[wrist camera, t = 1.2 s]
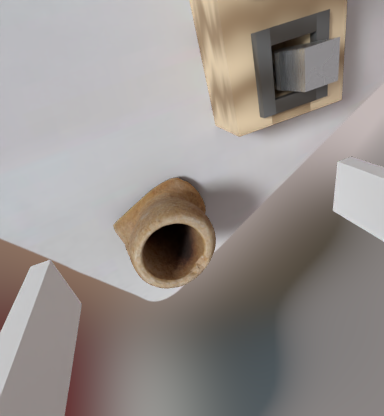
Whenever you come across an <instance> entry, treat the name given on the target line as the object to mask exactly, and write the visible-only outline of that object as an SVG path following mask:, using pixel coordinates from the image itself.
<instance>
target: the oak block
mask: <svg viewBox="0 0 384 416" xmlns="http://www.w3.org/2000/svg"><path fill="white" fill-rule="evenodd" d="M190 5H191V10H192V14H193V19H194V24H195V29H196V33H197V38H198V43H199V48H200V53H201V57H202V62H203V67H204V72H205V76H206V81H207V86H208V91H209V96H210V100H211V105H212V110H213V115H214V119H215V124H216V126H217V127H219V128H222V129H224V130H226V131H228V132H230V133H232V134H234V135H237V136H239V137H240V136H243V135H246V134H249V133H251V132H254V131H257V130H260V129H263V128H265V127H268V126H271V125H274V124H276V123H279V122H282V121H285V120H288V119H290V118H293V117H296V116H299V115H301V114H304V113H307V112H310V111H313V110H315V109H318V108H321V107H324V106H326V105H329V104H332V103H335V102H338V101H340V100H342V84H343V66H344V49H345V31H346V13H347V0H190ZM336 37H340V52H339V73H338V81H336V82H333V83H330V84H327V85H324V86H321V87H318V88H315V89H313V90H310V91H307V92H297V91H283V90H274V78H273V66H272V53H271V51H274V50H277V49H280V48H284V47H289V46H294V45H299V44H305V43H310V42H315V41H320V40H326V39H331V38H336Z"/></svg>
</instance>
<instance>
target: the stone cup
mask: <svg viewBox="0 0 384 416" xmlns="http://www.w3.org/2000/svg"><path fill="white" fill-rule="evenodd" d="M205 211H206V209H205V204H204V201H203V199H202V197H201V196H200V194H199V192H198V191H197V190H196V189H195V188H194V187H193V186H192V185H191V184H190V183H189V182H187V181H183V180H181V179H180V178H171V179H169V180H167V181H165V182H163V183H161V184H159V185H158V186H156V187H155V188H153V189H152V190H151V191H150V192H148V193H147V194H146V195H145V196H144V197H143V198H142V199H140V200H139V201H138V202H137V203H136V204H135V205H134V206H133V207H132V208H131V209H129V210H128V211H127V212H126V213H125V214H124V215H123V216H122V217H121V218H120V219H119V220H118V221H117V222H116V223H115V224H114V225H113V226H114V229H115V231H116V233H117V234H118V235H119V237H120V238H121V240H122V241H123V242H124V243H125V245H126V250H127V251H128V255H129V256H130V259H131V262H132V264H133V266H134V268H135V270H136V272H137V273H138V275H139V276H140V277H141V278H142V279H143V280H144V281H145V282H147V283H148V284H150V285H153V286H156V287H159V288H174V287H180V286H183V285H186V284H187V283H189V282H191V281H192V280H194V279H195V278H196V277H197V276H198V275H199V274H200V273H201V272H202V271H203V270H204V269H205V268H206V266H207V265H208V264H209V262H210V260H211V258H212V255H213V253H214V250H215V244H216V237H215V232H214V228H213V226H212V224H211V222H210V220H209V218H208V217H207V216H206V215H205Z"/></svg>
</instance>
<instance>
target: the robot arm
mask: <svg viewBox="0 0 384 416" xmlns="http://www.w3.org/2000/svg"><path fill="white" fill-rule="evenodd" d="M333 211H334V212H336V213H338V214H339V215H341V216H342V217H344V218H346V219H347V220H349V221H351V222H352V223H354V224H356V225H357V226H359V227H361V228H363V229H364V230H366V231H367V232H369V233H371V234H372V235H374V236H376V237H377V238H379V239H381V240H382V241H384V167H382V166H379V165H376V164H373V163H370V162H367V161H364V160H361V159H358V158H355V157H349V158H346V159H343V160H340V161H338V162H337V172H336V184H335V194H334V204H333ZM81 305H82V303H81V302H80V301H79V299H78V298H77V296H76V295H75V294H74V292H73V291H72V289H71V288H70V287H69V285H68V284H67V282H66V281H65V279H64V278H63V277H62V275H61V274H60V272H59V271H58V270H57V269H56V267H55V266H54V264H53V263H52V261H51V260H48V261H46V262H43V263H40V264H37V265H34V266H31V267H30V269H29V271H28V274H27V276H26V278H25V280H24V282H23V285H22V287H21V289H20V291H19V293H18V295H17V298H16V300H15V302H14V304H13V306H12V309H11V311H10V313H9V315H8V317H7V319H6V322H5V324H4V326H3V328H2V330H1V332H0V416H64V415H65V408H66V402H67V395H68V389H69V383H70V376H71V369H72V363H73V357H74V350H75V344H76V338H77V331H78V325H79V318H80V312H81Z"/></svg>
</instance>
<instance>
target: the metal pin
mask: <svg viewBox="0 0 384 416" xmlns="http://www.w3.org/2000/svg"><path fill="white" fill-rule="evenodd" d="M339 52H340V37H336V38H331V39H326V40H320V41H315V42H310V43H305V44H299V45H294V46H289V47H284V48H280V49H277V50H274V51H271V53H272V66H273V78H274V90H283V91H297V92H307V91H310V90H313V89H315V88H318V87H321V86H324V85H327V84H330V83H333V82H336V81H338V73H339Z"/></svg>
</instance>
